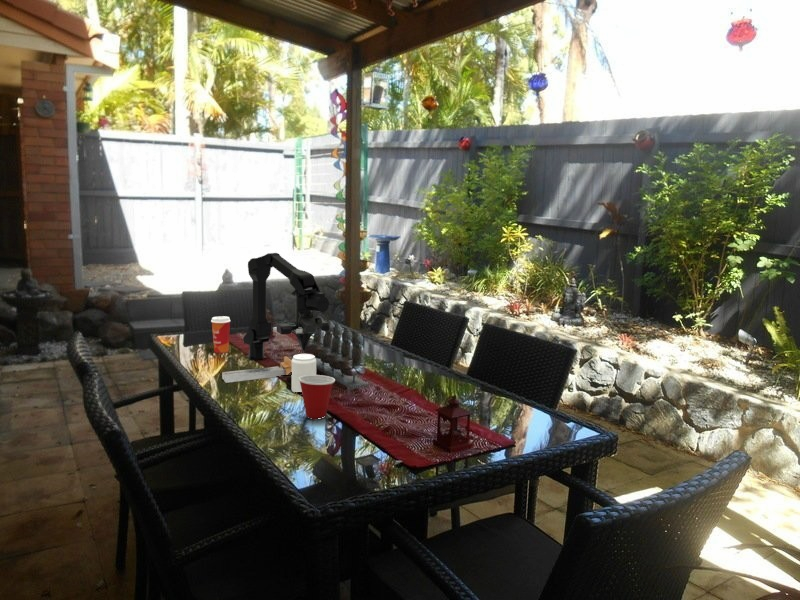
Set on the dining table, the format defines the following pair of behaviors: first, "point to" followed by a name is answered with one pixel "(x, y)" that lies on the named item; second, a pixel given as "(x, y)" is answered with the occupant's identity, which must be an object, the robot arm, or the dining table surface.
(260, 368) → the bar
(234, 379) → the base
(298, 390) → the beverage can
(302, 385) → the plastic cup
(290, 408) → the dining table surface
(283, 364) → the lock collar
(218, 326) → the paper cup
